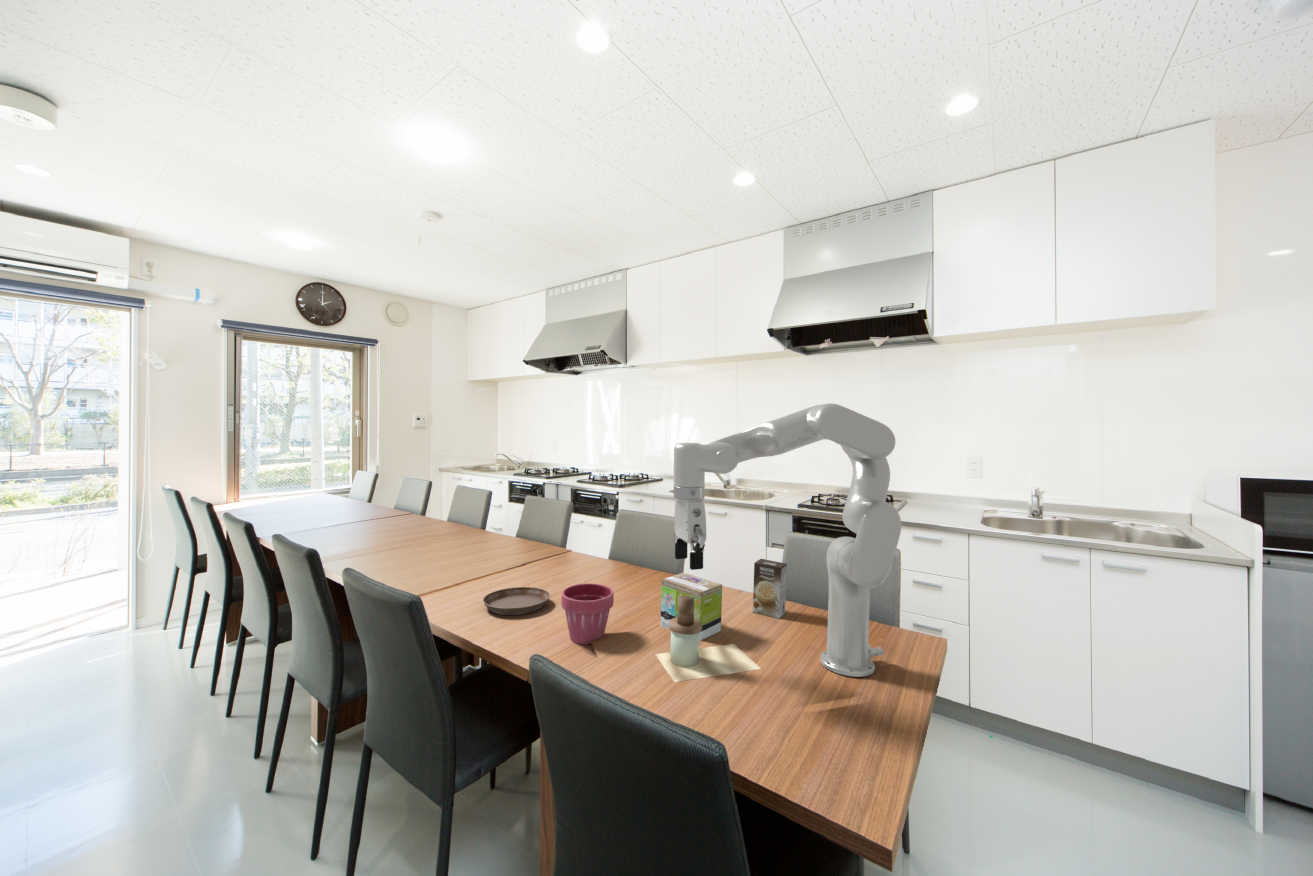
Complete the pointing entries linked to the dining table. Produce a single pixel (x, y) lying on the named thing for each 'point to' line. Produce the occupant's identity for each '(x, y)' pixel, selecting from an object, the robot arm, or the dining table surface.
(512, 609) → the plant saucer
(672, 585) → the tea box
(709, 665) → the board
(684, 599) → the lid
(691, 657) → the jar
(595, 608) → the plant pot
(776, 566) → the coffee box
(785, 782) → the dining table surface
